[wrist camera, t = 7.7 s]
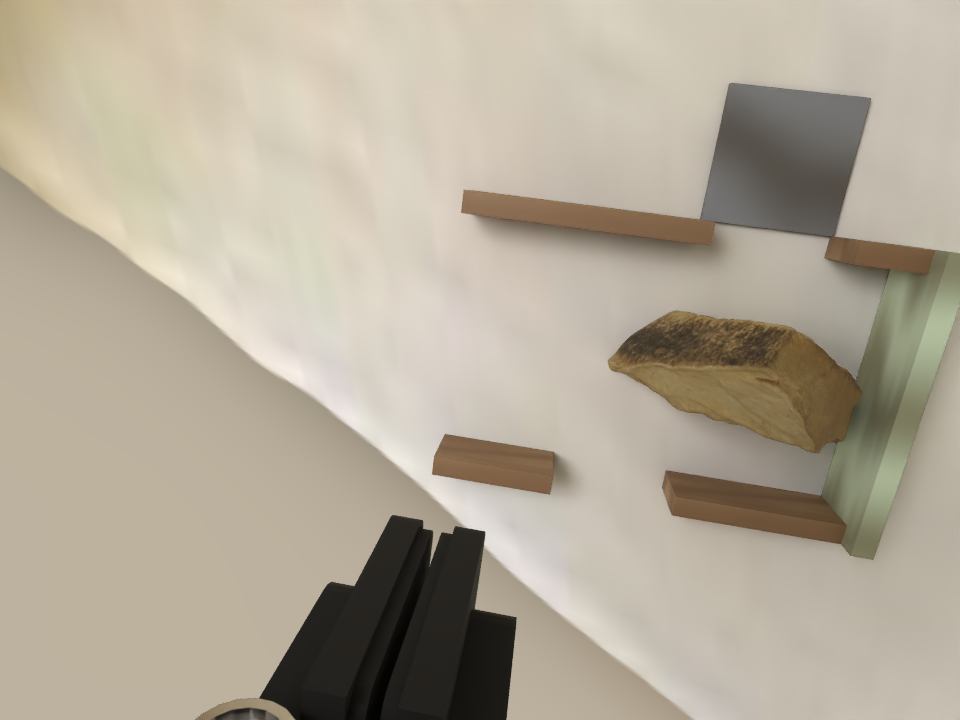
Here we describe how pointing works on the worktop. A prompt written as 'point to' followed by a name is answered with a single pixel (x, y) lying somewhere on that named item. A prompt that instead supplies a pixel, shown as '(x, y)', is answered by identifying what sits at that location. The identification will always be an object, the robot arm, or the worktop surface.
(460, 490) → the worktop surface
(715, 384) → the rock
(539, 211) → the box
